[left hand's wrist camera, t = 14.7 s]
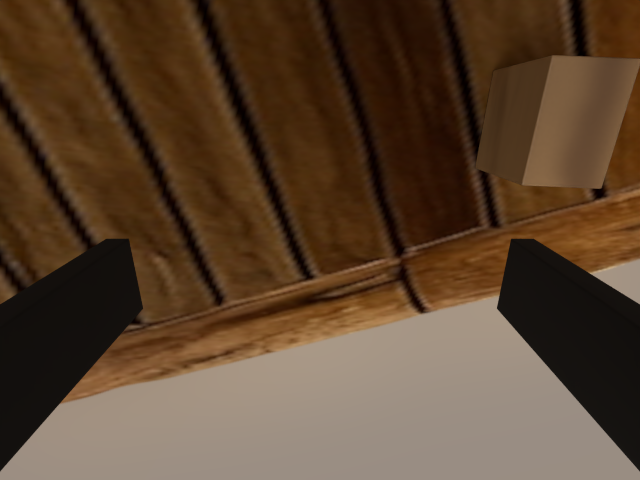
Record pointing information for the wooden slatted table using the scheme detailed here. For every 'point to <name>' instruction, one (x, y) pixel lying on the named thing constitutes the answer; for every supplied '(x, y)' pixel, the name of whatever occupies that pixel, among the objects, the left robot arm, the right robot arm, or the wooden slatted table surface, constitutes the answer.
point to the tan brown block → (555, 120)
